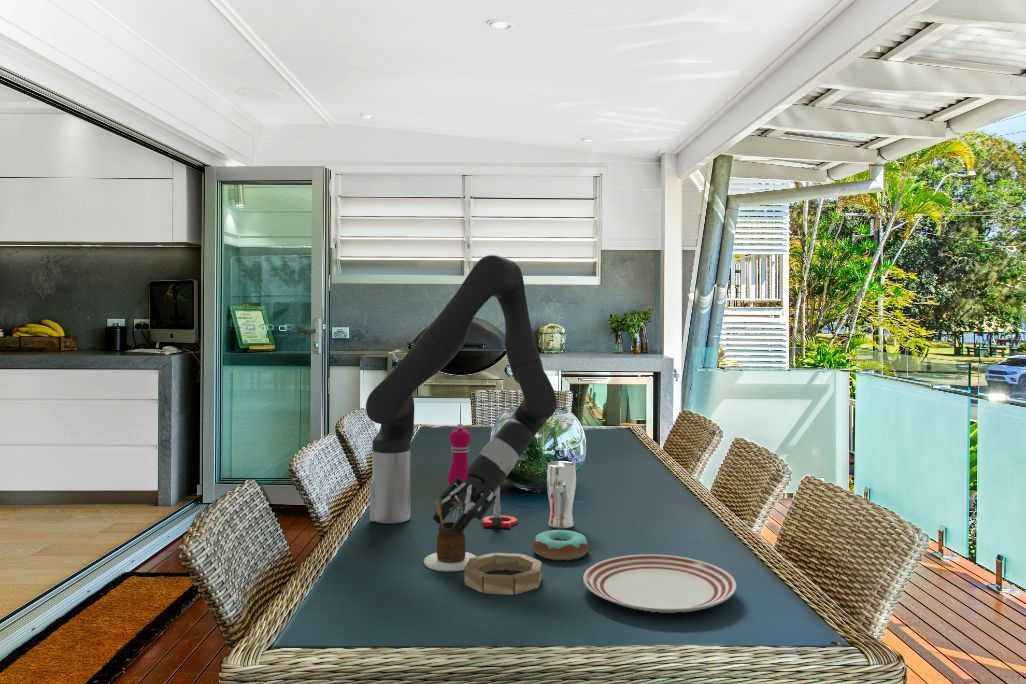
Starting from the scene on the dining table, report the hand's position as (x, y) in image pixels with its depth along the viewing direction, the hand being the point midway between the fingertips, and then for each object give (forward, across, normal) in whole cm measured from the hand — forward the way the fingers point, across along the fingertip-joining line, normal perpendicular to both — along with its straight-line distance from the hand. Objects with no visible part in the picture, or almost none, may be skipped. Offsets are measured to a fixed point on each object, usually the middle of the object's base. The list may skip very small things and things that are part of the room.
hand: (445, 526), depth 154 cm
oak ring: (+2, +15, +9) cm, 17 cm away
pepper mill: (-17, -50, +28) cm, 60 cm away
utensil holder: (+4, 0, +6) cm, 7 cm away
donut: (-11, +7, +23) cm, 26 cm away
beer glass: (-20, -10, +32) cm, 39 cm away
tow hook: (-12, -19, +24) cm, 33 cm away
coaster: (+4, 0, +6) cm, 8 cm away
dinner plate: (-12, +36, +24) cm, 44 cm away
